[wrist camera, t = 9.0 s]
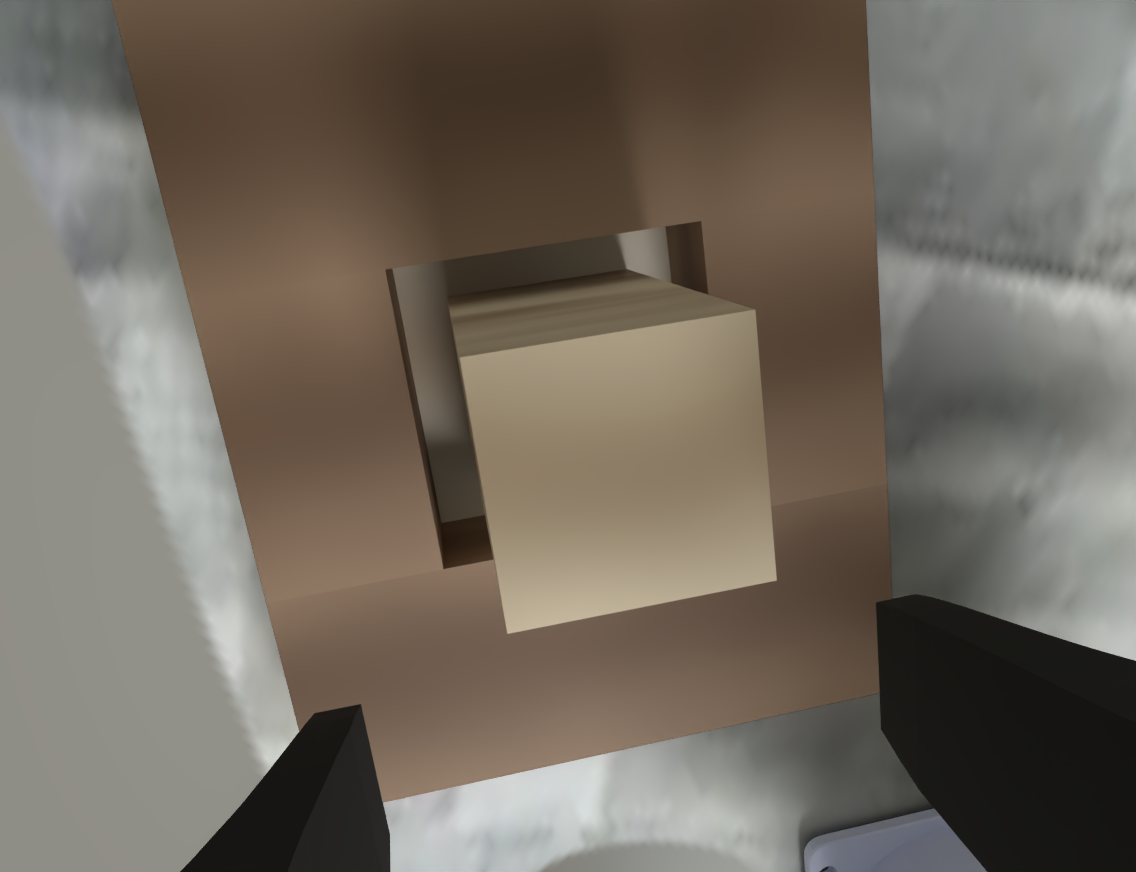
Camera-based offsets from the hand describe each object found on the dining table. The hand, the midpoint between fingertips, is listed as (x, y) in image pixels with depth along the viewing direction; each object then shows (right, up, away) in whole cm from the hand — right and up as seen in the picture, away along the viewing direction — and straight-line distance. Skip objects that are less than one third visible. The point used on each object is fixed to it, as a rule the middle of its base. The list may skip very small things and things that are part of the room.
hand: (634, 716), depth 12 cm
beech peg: (-1, +5, +8) cm, 10 cm away
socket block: (-1, +5, +8) cm, 10 cm away
